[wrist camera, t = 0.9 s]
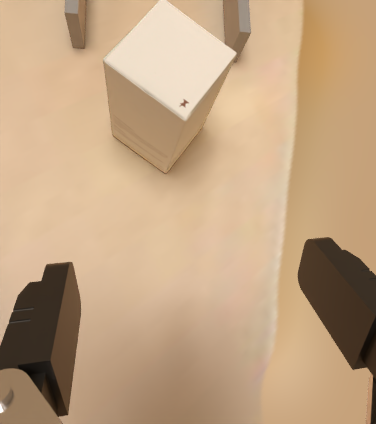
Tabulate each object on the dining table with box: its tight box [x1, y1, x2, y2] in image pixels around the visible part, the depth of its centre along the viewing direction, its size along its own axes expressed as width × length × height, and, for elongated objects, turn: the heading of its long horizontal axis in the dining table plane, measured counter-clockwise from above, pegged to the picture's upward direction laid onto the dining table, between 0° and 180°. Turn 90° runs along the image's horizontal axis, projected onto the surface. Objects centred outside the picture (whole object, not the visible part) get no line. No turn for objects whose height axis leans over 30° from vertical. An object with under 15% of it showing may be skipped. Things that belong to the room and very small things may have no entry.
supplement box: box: [103, 0, 237, 174], centre depth 30 cm, size 7×7×13 cm
